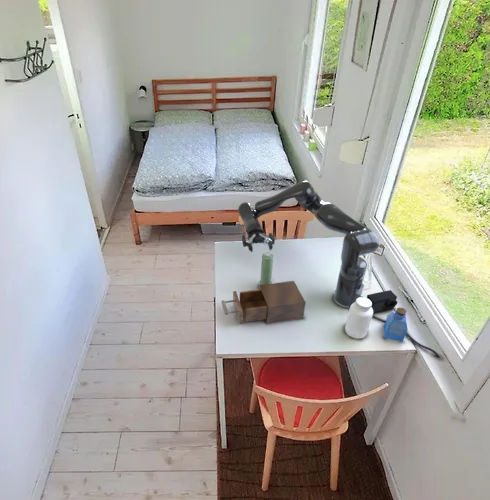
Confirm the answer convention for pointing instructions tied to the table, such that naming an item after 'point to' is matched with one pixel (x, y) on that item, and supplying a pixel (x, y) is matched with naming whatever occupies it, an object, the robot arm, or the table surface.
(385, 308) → the digital camera
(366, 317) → the pill bottle
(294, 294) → the cabinet
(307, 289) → the table surface
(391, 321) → the perfume bottle
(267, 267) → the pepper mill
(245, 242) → the robot arm
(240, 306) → the drawer
